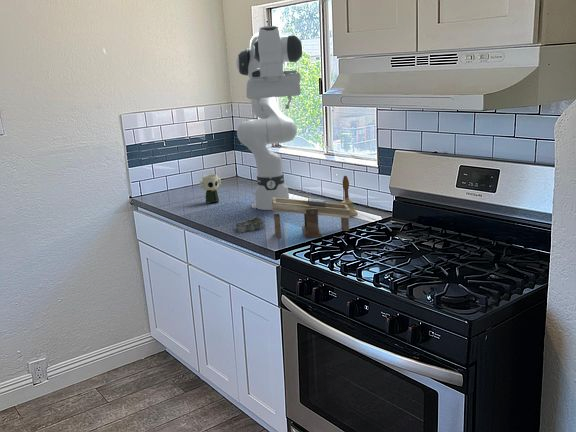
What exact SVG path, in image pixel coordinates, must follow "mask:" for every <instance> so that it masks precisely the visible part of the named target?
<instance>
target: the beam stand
mask: <svg viewBox="0 0 576 432" xmlns="http://www.w3.org/2000/svg"><path fill="white" fill-rule="evenodd" d="M280 216H281V215H280V212H274V213H273V220H274V221H273V222H274V224H273V225H274V235H275V236H274V237H275V238H282V229H281V217H280ZM303 220H304V225H301V229H302V232H303V235H304V238H305V239H313V238H322V237H323V234H322V232H321V230H320V227H319V215H318V209H317V208H308V209H306V214H303ZM349 220H350V218H342V217H340V226H341V230H342V231H349V232H350V221H349Z"/></svg>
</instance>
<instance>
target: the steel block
mask: <svg viewBox="0 0 576 432" xmlns="http://www.w3.org/2000/svg"><path fill="white" fill-rule="evenodd" d="M307 201H308V204H307V205H309V206H319V207H325V205H326V203H327V202H326V200H325V199H322V198H313V197H312V198H311V197H308V198H307Z"/></svg>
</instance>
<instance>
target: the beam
mask: <svg viewBox="0 0 576 432" xmlns="http://www.w3.org/2000/svg"><path fill="white" fill-rule="evenodd" d="M307 204H308V200H306V199H305V200H303V199H294V198H289V199H285V198H275V197H273V198H272V211H273V212H281V213H282V212H283V213H292V214H293V213H294V214H300V215H301V214H303V215H304V214H306V209H308V208H317V209H318V216H322V217H323V216H324V217H332V218H333V217H334V218H341V217H342V218H349V219H350V217H351V216H350V211H351V210H350V209H349V207H348V206H347V205H345V204H341V203H334V202H326V205H325V207H319V206H309V205H307Z"/></svg>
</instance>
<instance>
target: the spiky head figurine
mask: <svg viewBox="0 0 576 432" xmlns="http://www.w3.org/2000/svg"><path fill="white" fill-rule="evenodd" d="M201 178H202V180H201V181H199V187H200V189H203V190H205V191H206V192H205V203H207V202H215V201H216V202H215V203H218V202H217V201H220V198H219V194H218V191H217V189H218V188H219V185H221V184H222V181H221V177H218V175H217V174H205V175H202V177H201Z"/></svg>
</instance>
